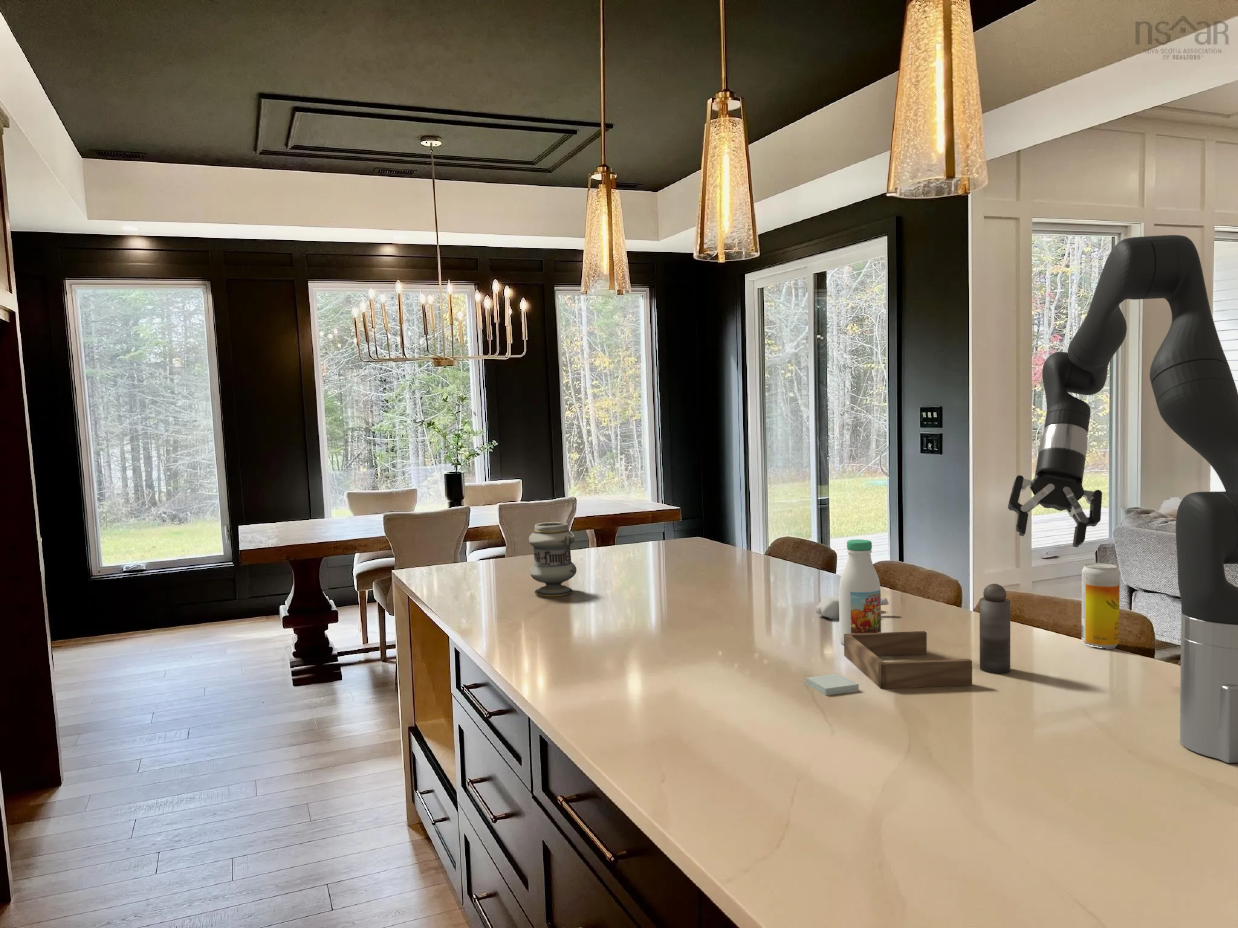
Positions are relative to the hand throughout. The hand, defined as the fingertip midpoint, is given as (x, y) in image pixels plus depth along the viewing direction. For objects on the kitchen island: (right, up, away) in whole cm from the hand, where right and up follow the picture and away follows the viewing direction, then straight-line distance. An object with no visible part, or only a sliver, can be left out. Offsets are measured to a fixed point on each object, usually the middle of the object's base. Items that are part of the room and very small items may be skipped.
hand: (1048, 540), depth 145 cm
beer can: (+16, -21, +12) cm, 29 cm away
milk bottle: (-28, -22, +17) cm, 39 cm away
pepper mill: (-10, -22, -1) cm, 24 cm away
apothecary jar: (-91, -20, +73) cm, 118 cm away
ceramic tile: (-39, -24, -8) cm, 47 cm away
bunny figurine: (-23, -21, +40) cm, 51 cm away
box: (-25, -22, 0) cm, 33 cm away
